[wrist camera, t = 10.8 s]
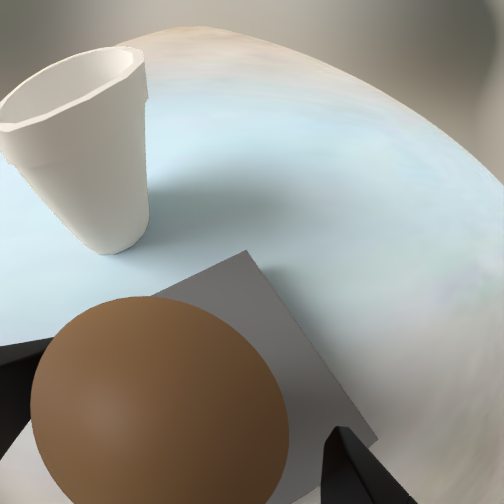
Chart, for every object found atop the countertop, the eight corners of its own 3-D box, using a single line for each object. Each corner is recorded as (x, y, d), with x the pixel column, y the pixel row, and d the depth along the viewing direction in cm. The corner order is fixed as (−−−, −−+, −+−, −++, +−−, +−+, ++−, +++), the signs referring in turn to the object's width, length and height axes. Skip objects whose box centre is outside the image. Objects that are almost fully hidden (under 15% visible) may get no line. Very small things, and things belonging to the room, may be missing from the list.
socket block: (356, 436, 15) (378, 439, 12) (170, 537, 10) (162, 556, 7) (242, 272, 20) (246, 250, 18) (68, 357, 15) (46, 347, 13)
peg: (242, 438, 14) (310, 526, 2) (176, 445, 14) (54, 525, 2) (231, 377, 16) (261, 284, 4) (167, 384, 16) (32, 303, 4)
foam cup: (187, 195, 23) (177, 46, 12) (133, 290, 19) (53, 137, 8) (102, 172, 24) (68, 51, 13) (46, 249, 19) (-31, 129, 8)
